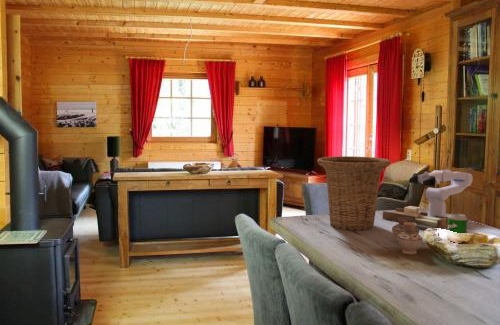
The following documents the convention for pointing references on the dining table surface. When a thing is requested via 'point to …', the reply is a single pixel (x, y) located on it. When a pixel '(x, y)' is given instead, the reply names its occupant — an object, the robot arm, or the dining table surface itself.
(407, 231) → the pottery
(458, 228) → the soda can
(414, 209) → the cream block
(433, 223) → the brown tray with rims
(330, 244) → the dining table surface
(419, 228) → the grey flat board
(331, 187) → the wicker basket
